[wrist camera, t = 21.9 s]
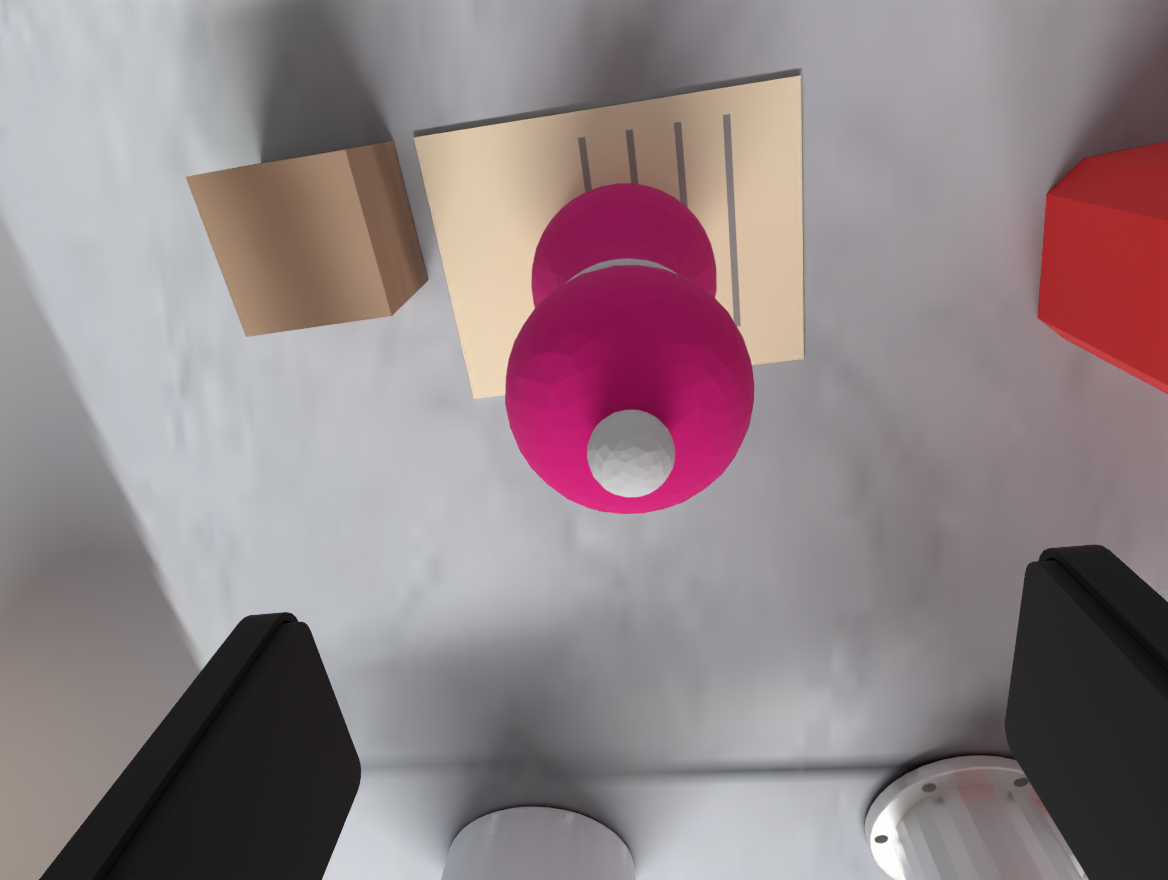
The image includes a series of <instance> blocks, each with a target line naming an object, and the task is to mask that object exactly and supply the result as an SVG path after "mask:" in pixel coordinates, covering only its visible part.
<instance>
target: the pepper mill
mask: <svg viewBox="0 0 1168 880" xmlns="http://www.w3.org/2000/svg"><path fill="white" fill-rule="evenodd" d="M531 288H532V295H533V302H534V307H535V309H534V310H533V312H532V313H531V314H530V316H529V317H528V319H527V320H526V322H525V323H524V325H523V326H522V328H521V330H520V332H519V334H518V336H517V338H516V339H515V341H514V344H513V347H512V350H511V353H510V356H509V359H508V366H507V373H506V385H505V404H506V409H507V414H508V419H509V423H510V428H511V430H512V433H513V435H514V437H515V440H516V442H517V445H518V447H519V449H520V451H521V453H522V454H523V456H524V457H525V459H526V460H527V462H528V463H529V465H530V466H531V468H532V469H533V470H534V471H535V472H536V473H537V474H538V475H539V476H540V477H541V478H542V479H543V480H544V481H545V482H546V483H547V484H548V485H549V486H551V487H552V488H553V489H555V490H556V491H557V492H559V493H560V494H561V495H563V496H564V497H566V498H567V499H569V500H571V501H573V502H576V503H578V504H581V505H583V506H585V507H588V508H591V509H594V510H598V511H602V512H611V513H621V514H631V513H646V512H651V511H656V510H661V509H665V508H668V507H671V506H673V505H676V504H679V503H682V502H684V501H686V500H688V499H689V498H691V497H692V496H694V495H696V494H697V493H699V492H700V491H702V490H704V489H705V488H706V487H708V486H709V485H710V484H711V483H712V482H713V481H715V480H716V479H717V478H718V477H719V476H721V475H722V474H723V472H724V471H725V470H726V468H727V467H728V466H729V464H730V463H731V462H732V460H733V459H734V457H735V456H736V454H737V452H738V450H739V448H740V446H741V444H742V442H743V439H744V437H745V435H746V432H747V430H748V428H749V424H750V419H751V414H752V408H753V402H754V379H753V371H752V364H751V359H750V356H749V353H748V350H747V347H746V344H745V342H744V339H743V336H742V334H741V333H740V331H739V329H738V328H737V326H736V324H735V323H734V321H733V319H732V317H731V316H730V314H729V312H728V311H727V310H726V309H725V308H724V307H723V306H722V305H721V304H720V303H719V302H718V301H717V300H716V299H715V296H716V291H717V276H716V263H715V257H714V253H713V249H712V246H711V243H710V240H709V238H708V236H707V233H706V231H705V229H704V228H703V226H702V225H701V223H700V222H699V220H698V219H697V217H696V216H695V215H694V214H693V213H692V212H691V211H690V210H689V209H688V208H687V207H686V206H685V205H684V204H682V203H681V202H680V201H679V200H677V199H676V198H675V197H673V196H671V195H669V194H667V193H665V192H663V191H662V190H659V189H656V188H653V187H650V186H646V185H640V184H634V183H616V184H611V185H605V186H600V187H598V188H595V189H592V190H589V191H587V192H585V193H583V194H581V195H579V196H578V197H576V198H574V199H573V200H571V201H570V202H569V203H568V204H566V205H565V206H564V207H563V208H561V209H560V211H559V212H558V213H557V214H556V215H555V216H554V217H553V218H552V219H551V221H550V222H549V224H548V225H547V227H546V228H545V230H544V232H543V234H542V236H541V238H540V240H539V243H538V245H537V247H536V251H535V256H534V261H533V265H532V280H531Z"/></svg>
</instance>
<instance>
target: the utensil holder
mask: <svg viewBox="0 0 1168 880" xmlns="http://www.w3.org/2000/svg"><path fill="white" fill-rule="evenodd" d="M441 880H636V879H635V868H634V863H633V859H632V856H631V853H630V851H629V850H628V848H627V846H626V845H625V844H624V842H623V841H622V840H621V839H620V838H619V837H618V836H617V835H616V834H615V833H614V832H612V831H611V830H610V829H608V828H607V827H606V826H604V825H602V824H601V823H599V822H597V821H595V820H593V819H591V818H588V817H586V816H583V815H581V814H578V813H575V812H571V811H567V810H562V809H556V808H549V807H517V808H510V809H505V810H501V811H497V812H493V813H490V814H488V815H485V816H482V817H480V818H478V819H476V820H475V821H473V822H471V823H470V824H469V825H467V826H466V827H465V828H463V829H462V830H461V831H460V832H459V834H458V835H457V836H456V838H455V839H454V840H453V842H452V845H451V847H450V849H449V853H448V856H447V860H446V863H445V867H444V871H443V875H442V879H441Z"/></svg>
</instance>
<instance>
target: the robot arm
mask: <svg viewBox="0 0 1168 880" xmlns="http://www.w3.org/2000/svg"><path fill="white" fill-rule="evenodd" d="M1005 731H1006V737H1007V741H1008V744H1009V747H1010V749H1011V752H1012V754H1013V755H1014V757H1015V759H1016V760H1013V759H1008V758H1004V757H999V756H984V755H975V756H960V757H955V758H949V759H944V760H940V761H937V762H933V763H930V764H927V765H924V766H921V767H919V768H917V769H915V770H913V771H911V772H909V773H907V774H905V775H903V776H902V777H900V778H899V779H897V780H896V781H894V782H893V783H891V784H890V785H889V786H888V787H887V788H886V789H885V790H884V791H883V792H882V793H880V795H879V796H878V797H877V799H876V800H875V801H874V803H873V804H872V805H871V807H870V809H869V812H868V814H867V817H866V821H865V829H864V831H865V836H866V841H867V844H868V847H869V849H870V852H871V855H872V858H873V859H874V861H875V862H876V863H877V865H878V866H879V868H881V869H882V870H883V871H884V872H885V873H886V874H888V875H889V876H890V877H892V878H894V879H896V880H1168V602H1167V601H1166V600H1165V599H1164V598H1162V597H1161V596H1160V595H1159V594H1158V593H1157V592H1156V591H1155V590H1153V589H1152V588H1151V587H1150V586H1149V585H1148V584H1147V583H1146V582H1144V581H1143V580H1142V579H1141V578H1140V577H1139V576H1138V575H1137V574H1135V573H1134V572H1133V571H1132V570H1131V569H1130V568H1129V567H1128V566H1126V565H1125V564H1124V563H1123V562H1122V561H1121V560H1120V559H1119V558H1117V557H1116V556H1115V555H1114V554H1113V553H1112V552H1111V551H1110V550H1108V549H1107V548H1105V547H1103V546H1101V545H1084V546H1072V547H1060V548H1049V549H1046V550H1044V551H1043V552H1042V554H1041V555H1040V558H1039V561H1038V562H1032V563H1029V565H1028V566H1027V568H1026V572H1025V578H1024V586H1023V593H1022V601H1021V608H1020V615H1019V623H1018V630H1017V638H1016V645H1015V652H1014V660H1013V667H1012V674H1011V682H1010V689H1009V697H1008V704H1007V711H1006V719H1005ZM360 779H361V765H360V761H359V758H358V755H357V752H356V750H355V747H354V744H353V742H352V739H351V736H350V734H349V731H348V728H347V726H346V723H345V721H344V718H343V715H342V713H341V710H340V707H339V705H338V702H337V699H336V697H335V694H334V691H333V689H332V686H331V683H330V681H329V678H328V676H327V673H326V670H325V668H324V665H323V662H322V660H321V657H320V654H319V652H318V649H317V646H316V644H315V641H314V638H313V636H312V633H311V631H310V629H309V627H308V625H307V624H306V623H304V622H298V620H297V618H296V617H295V616H294V615H293V614H292V613H287V612H284V613H272V614H260V615H250V616H247V617H245V618H243V619H242V620H241V621H240V622H239V623H238V625H237V626H236V627H235V629H234V630H233V631H232V632H231V634H230V635H229V636H228V638H227V639H226V640H225V641H224V643H223V644H222V645H221V647H220V648H219V649H218V650H217V652H216V653H215V654H214V656H213V657H212V658H211V659H210V661H209V662H208V663H207V665H206V666H205V667H204V668H203V670H202V671H201V672H200V674H199V675H198V676H197V677H196V679H195V680H194V681H193V683H192V684H191V685H190V686H189V688H188V689H187V690H186V692H185V693H184V694H183V695H182V697H181V698H180V699H179V701H178V702H177V703H176V704H175V706H174V707H173V708H172V710H171V711H170V712H169V714H168V715H167V716H166V717H165V719H164V720H163V721H162V722H161V724H160V725H159V726H158V728H157V729H156V730H155V731H154V733H153V734H152V735H151V737H150V738H149V739H148V740H147V742H146V743H145V744H144V745H143V747H142V748H141V749H140V751H139V752H138V753H137V755H136V756H135V757H134V759H133V760H132V761H131V762H130V764H129V765H128V766H127V768H126V769H125V770H124V771H123V773H122V774H121V775H120V777H119V778H118V779H117V780H116V782H115V783H114V784H113V785H112V787H111V788H110V790H108V792H107V793H106V795H105V796H104V797H103V798H102V800H101V801H100V802H99V803H98V805H97V806H96V807H95V809H94V810H93V811H92V812H91V814H90V815H89V816H88V818H87V819H86V820H85V821H84V823H83V824H82V825H81V826H80V828H79V829H78V830H77V832H76V833H75V834H74V835H73V837H72V838H71V839H70V841H69V842H68V843H67V844H66V846H65V847H64V848H63V850H62V851H61V852H60V853H59V855H58V856H57V857H56V859H55V860H54V861H53V862H52V864H51V865H50V866H49V868H48V869H47V870H46V872H45V873H44V874H43V875H42V877H41V878H40V879H39V880H322V878H323V875H324V873H325V870H326V868H327V865H328V863H329V860H330V858H331V856H332V853H333V851H334V848H335V846H336V843H337V841H338V838H339V836H340V833H341V831H342V828H343V826H344V823H345V821H346V818H347V816H348V814H349V811H350V809H351V806H352V804H353V801H354V799H355V796H356V794H357V791H358V788H359V785H360Z"/></svg>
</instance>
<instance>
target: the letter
mask: <svg viewBox="0 0 1168 880" xmlns="http://www.w3.org/2000/svg"><path fill="white" fill-rule="evenodd" d="M414 141H415V146H416V150H417V154H418V159H419V163H420V167H421V172H422V176H423V180H424V185H425V189H426V193H427V198H428V202H429V206H430V211H431V215H432V219H433V224H434V228H435V232H436V237H437V241H438V245H439V250H440V254H441V258H442V263H443V267H444V271H445V276H446V280H447V284H448V289H449V293H450V297H451V302H452V306H453V310H454V315H455V319H456V323H457V328H458V332H459V336H460V341H461V345H462V349H463V354H464V358H465V363H466V367H467V371H468V376H469V380H470V384H471V389H472V393H473V397H474V399H477V398H485V397H493V396H502V395H505V385H506V373H507V366H508V359H509V356H510V353H511V350H512V347H513V344H514V341H515V339H516V338H517V336H518V334H519V332H520V330H521V328H522V326H523V325H524V323H525V322H526V320H527V319H528V317H529V316H530V314H531V313H532V312H533V310H534V309H535V307H534V302H533V295H532V288H531V280H532V265H533V261H534V256H535V251H536V247H537V245H538V243H539V240H540V238H541V236H542V234H543V232H544V230H545V228H546V227H547V225H548V224H549V222H550V221H551V219H552V218H553V217H554V216H555V215H556V214H557V213H558V212H559V211H560V209H561V208H563V207H564V206H565V205H566V204H568V203H569V202H570V201H571V200H573V199H574V198H576V197H578V196H579V195H581V194H583V193H585V192H587V191H589V190H592V189H595V188H598V187H600V186H605V185H611V184H616V183H634V184H640V185H646V186H650V187H653V188H656V189H659V190H662V191H663V192H665V193H667V194H669V195H671V196H673V197H675V198H676V199H677V200H679V201H680V202H681V203H682V204H684V205H685V206H686V207H687V208H688V209H689V210H690V211H691V212H692V213H693V214H694V215H695V216H696V217H697V219H698V220H699V222H700V223H701V225H702V226H703V228H704V229H705V231H706V233H707V236H708V238H709V240H710V243H711V246H712V249H713V253H714V257H715V263H716V276H717V291H716V296H715V299H716V300H717V301H718V302H719V303H720V304H721V305H722V306H723V307H724V308H725V309H726V310H727V311H728V312H729V314H730V316H731V317H732V319H733V321H734V323H735V324H736V326H737V328H738V329H739V331H740V333H741V334H742V336H743V339H744V342H745V344H746V347H747V350H748V353H749V356H750V359H751V364H752V365H758V364H766V363H774V362H783V361H791V360H799V359H804V336H803V229H802V122H801V75H800V76H793V77H787V78H781V79H775V80H768V81H762V82H756V83H750V84H744V85H737V86H731V87H725V88H719V89H712V90H706V91H700V92H694V93H687V94H681V95H675V96H669V97H662V98H656V99H650V100H644V101H638V102H631V103H625V104H619V105H613V106H606V107H600V108H594V109H588V110H581V111H575V112H569V113H563V114H557V115H550V116H544V117H538V118H532V119H525V120H519V121H513V122H507V123H500V124H494V125H488V126H482V127H476V128H469V129H463V130H457V131H451V132H444V133H438V134H432V135H426V136H419V137H414Z"/></svg>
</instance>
